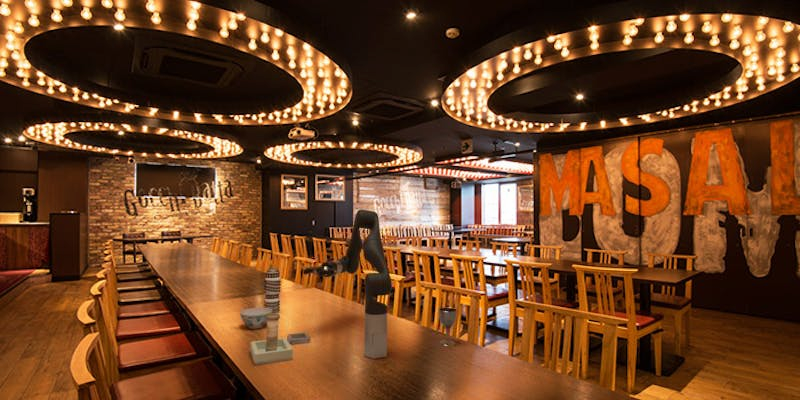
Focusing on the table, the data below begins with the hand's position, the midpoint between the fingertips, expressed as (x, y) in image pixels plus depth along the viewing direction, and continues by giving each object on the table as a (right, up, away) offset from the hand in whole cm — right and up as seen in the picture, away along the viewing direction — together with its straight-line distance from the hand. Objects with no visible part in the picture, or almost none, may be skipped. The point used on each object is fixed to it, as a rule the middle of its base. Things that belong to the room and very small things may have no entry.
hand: (311, 272), depth 183 cm
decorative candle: (-32, -31, +42) cm, 61 cm away
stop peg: (-11, -28, -23) cm, 38 cm away
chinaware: (-32, -30, +16) cm, 47 cm away
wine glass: (+62, -31, -5) cm, 69 cm away
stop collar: (-5, -30, -4) cm, 31 cm away
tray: (-11, -29, -23) cm, 39 cm away
